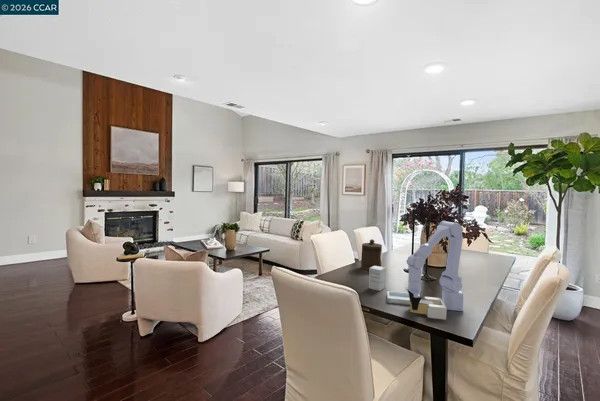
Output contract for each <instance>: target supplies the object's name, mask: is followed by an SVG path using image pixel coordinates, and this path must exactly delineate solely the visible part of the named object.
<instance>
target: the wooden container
mask: <svg viewBox="0 0 600 401" xmlns="http://www.w3.org/2000/svg"><path fill="white" fill-rule="evenodd" d="M382 250H383V244H380V243H376V242H375V240H374V239H373V238H372V239H370V240H369V242H364V243H362V244H361V256H360V257H361V260H360V268H361V269H362V270H364V271H369V268H370V267H373V266H379V267H382V253H383V252H382Z"/></svg>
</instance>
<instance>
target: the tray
mask: <svg viewBox="0 0 600 401" xmlns="http://www.w3.org/2000/svg"><path fill="white" fill-rule="evenodd" d="M418 296H420V293H419V294H418ZM420 297H421V296H420ZM386 298H387V304H395V305H396V304H398V305H405V306H410V297H409V293H408V291H407V292H405V291H394V290H386Z"/></svg>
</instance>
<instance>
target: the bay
mask: <svg viewBox="0 0 600 401" xmlns="http://www.w3.org/2000/svg"><path fill="white" fill-rule="evenodd" d="M423 300H425V301H432V304H427V315H426V316H427V318H429V319H434V320H436V319H437V320H444V321H446V320H447V311H448V310H447V308H446V306H445V305H444V303H443V301H442V297H432V296H423Z"/></svg>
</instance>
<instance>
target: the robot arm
mask: <svg viewBox="0 0 600 401" xmlns="http://www.w3.org/2000/svg"><path fill="white" fill-rule="evenodd" d="M463 231H464V227H462V225H461V224H460V223H458V222H451V221H446V220H442V221H440V222H439V224H438V225H437V226H436V230H435V232H434V233H432V235H431V236H430V238H429V239H428V240H427V242H426V243H422V244H420V245H419V247H418V248H417V250H416V251H415V252H413V254H411V255H409V256H408V258H407V259H406V264H407V266H408V281H407V282H408V284H407V286H408V287H407V286H406V287H405V290H406V291H407V293H409V297H410V302H411V304H412V310H417V309H418V305H419V302H420V300H423V299H422V298H423V297H422V296H418V294H419V295H420V293H421V291H422V288H421V285H422V284H421V283H422V268H423V267H424V266H425V262H426V260H427V259H428V258H429V256H430V255H431V254H432V253H433V248H434V247H435V246H436V245H437V244H438V243H439V242H440V241H441V240H442V239H443V238H448V240H449V248H448V252H447V253H448V254H447V260H446V266H445V268H446V269H445V270H444V271H442V272H441V276H440V278H439V285H440V286H441V290H442V291H441V299H442V301H443V303H444V305H445V306H446V308H447V311H448V310H449V311H456V312H457V311H459V312H464V294H463V291H461V290H462V288H463V283H462V276H461V275H460V274H459V268H460V267H459V266H460V261H461V260H460V259H461V254H462V248H463V241H464V240H463V237H464V236H463Z"/></svg>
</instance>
